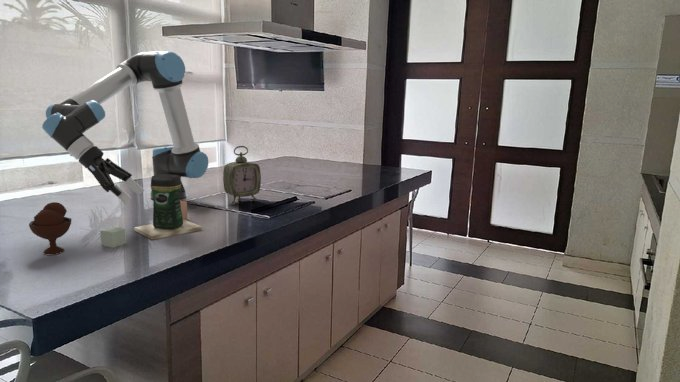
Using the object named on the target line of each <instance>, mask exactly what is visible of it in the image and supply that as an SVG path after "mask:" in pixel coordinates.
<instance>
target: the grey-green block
mask: <svg viewBox="0 0 680 382" xmlns="http://www.w3.org/2000/svg"><path fill="white" fill-rule="evenodd" d="M99 233H100V242H101V246H102V245H104V246H103V247H107V246H108V247H107V248H111V247H114V248H117V247H119V246H123V245H125V244H127V239H126V237H127V236H126V228H125V227H118V226H110V227H107V228H103V229H101V230H100V232H99ZM116 246H117V247H116Z"/></svg>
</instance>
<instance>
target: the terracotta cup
mask: <svg viewBox="0 0 680 382" xmlns="http://www.w3.org/2000/svg"><path fill="white" fill-rule="evenodd" d="M187 202H188V201H186V200H182V199H180V204H181V211H182V217H183V219H185V220H187V221H189V219H188V203H187Z"/></svg>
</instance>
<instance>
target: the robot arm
mask: <svg viewBox="0 0 680 382" xmlns="http://www.w3.org/2000/svg"><path fill="white" fill-rule="evenodd" d="M185 73H186V65H185V63H184V61H183V59H182V57H181V56H180V55H179V54H178V53H176V52H174V51H167V50H154V51H153V50H152V51H142V52H138V53H136V54H134V55H132V56H131V57H129V58H127V59H125V60H124V61H122V62H121V63H119V64H117V66H116V69H114V70H113V71H111V72H109V73H108V74H107V75H105V76H103V77H101V78H100V79H98V80H97V81H95V82H93V83H92V84H90V85H89V86H87V87H85V88H83V89H82V90H81V91H79V92H76V93H75V94H74V95H72V96H70V97H69V98H68V99H66V100H63V102H60V103H53V104H50V105H49V106H48V107H46V110H45V117H46V119H45V120H44V122H43V123H42V127H41V128H42V130H43V131H44V132H45V133H46V134H47V135H48V136H49V137H50V138H51V139H53V141H55V142H56V143H57V144H58V145H60V146H61V147H62V148H63V149H64V150H65V151H66V152H68V154H69V156H70V157H73V158H74V159H76V160H78V162H79V164H80V165H82V166H83V167H84V168H85V169H87V170H88V171H89V172H90V173H91V174H92V175H93V177H94V178H95V180H96V181H97V182H98V183H99V185H100V187H102V190H104V191H105V192H106V193H109V192H111V193H112V194H113V195H114V196H116V197H117V198H118V199H119V200H120V201H121V202H122V203H123V204H125V205H127V204H128V203H129V202H130V201H131V200H132V199H133V198H132V197H131V196H130V195H129V194H128V193H127V192H126V191H125V190H124V189H122V187H120V186H119V185H118V184H115V183H114V181H113V179H112V177H111V176H110V175H112V176H113V177H115V178H118V179H119V180H121V181H123V182H124V184H125V185H126V186H128V188H129V189H131V191H133V192H134V193H135V194H137V196H140V195H141V194H142V193H143V192H144V191H145V189H144V188H143V187H142V186H141V185H140V184H139V183H138V182H137V181H135V180H134V179H133V178H132V176H133V175H132V174H131V173H130V172H129V171H127V170H125V169H124V168H122V167H121V166H119V165H118V164H116V163H115V162H113V161H112V160H111V159H110V158H108V157H107V158H106V159H104V158H103V156H104V152H103V150H101V149H100V148H99V147H98V146H95V143H94V142H92V141H91V140H90V138H88V137H87V136H86V135H84V133H85V132H86V131H88V130H90V129H91V128H93V127H94V126H96V125H97V124H99V123H100V122H101V121H103V120H104V119H105V117H106V111H105V109H104V107H103V106H102V104H103V103H104V102H106V101H108V100H110V99H111V98H113V97H114V96H115V95H117V94H118V93H120V92H122V91H123V90H125V89H127V88H128V87H134V86H136V85H137V84H139V83H143V82H151V84H152V88H153V90H155V91H157V92H158V95H159V99H160V102H161V105H162V109H163V113H164V115H165V119H166V124H167V127H168V130H169V133H170V137H171V140H172V145H173V146H164V147H155V148H153V149H152V156H151V159H152V171H153V176H154V175H158V174H169V175H179V177H180V181H181V188H180V200H182V199H184V198H186V197H187V193H186V189H185V186H184V183H183V182H182V181H183V180H182V177H183V178H188V179H199V178H202V177H203V176H204V175H205V174H206V172H207V170H208V167H209V157H208V156H207V153H205V152H204V151H201V149H200V144H198V143H197V142H196V141H194V140H195V139H194V136H193V132H192V129H191V125H190V120H189V117H188V113H187V109H186V105H185V102H184V98H183V94H182V91H181V87H182V85H184V84H183V83H184V82H183V79H184V78H185ZM150 199H151V200H153V192H152V189H151V191H150Z"/></svg>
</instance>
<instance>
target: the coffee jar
mask: <svg viewBox="0 0 680 382" xmlns="http://www.w3.org/2000/svg"><path fill="white" fill-rule="evenodd" d="M181 181H182V180H181ZM181 181H180V177H179V175H169V174H158V175H154V174H153V175H152V176H151V177H150V189H151V190H152V192H153V199H152V201H153V203H152V204H153V207H152V209H153V210H152V224H153V226H154V227H155V228H160V229H174V228H179V227H181V226H182V224H183V217H182V211H181V204H180V200H181V199H180V188H181Z"/></svg>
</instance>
